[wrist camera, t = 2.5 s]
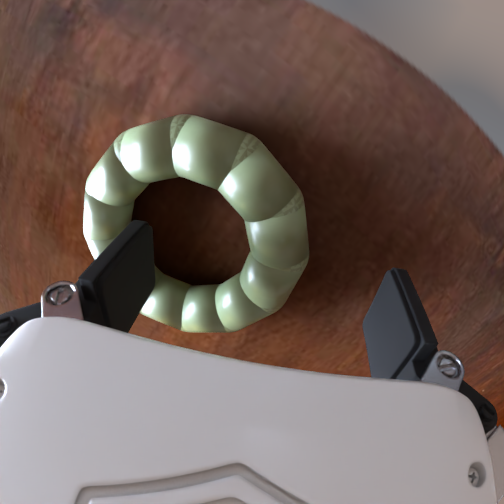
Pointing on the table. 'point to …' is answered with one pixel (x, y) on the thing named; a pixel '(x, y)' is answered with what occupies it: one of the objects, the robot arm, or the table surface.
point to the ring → (234, 191)
